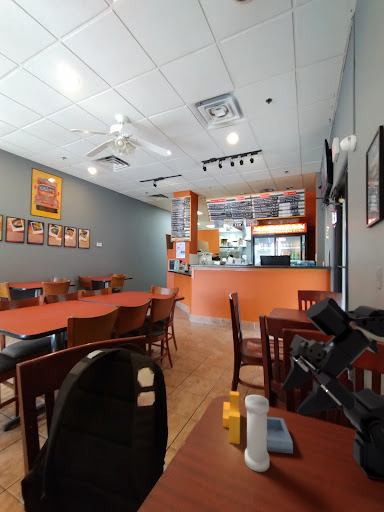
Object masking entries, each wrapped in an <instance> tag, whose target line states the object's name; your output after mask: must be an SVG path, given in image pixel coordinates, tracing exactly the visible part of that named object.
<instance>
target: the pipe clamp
mask: <svg viewBox="0 0 384 512" xmlns="http://www.w3.org/2000/svg"><path fill="white" fill-rule="evenodd" d="M222 409H223V411H222V428H228V443H230V444H234V445H235V444H237V445H240V443H241V439H240V438H241V412H240V392H239V391H234V390H229V401H223V407H222Z"/></svg>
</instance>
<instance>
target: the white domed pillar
mask: <svg viewBox="0 0 384 512" xmlns="http://www.w3.org/2000/svg"><path fill="white" fill-rule="evenodd" d="M244 403H245V405H244V406H245V409H246V448H245V450H244V463H245V464H246V466H247V467H248V468H249V469H251V470H252V471H254V472H258V473H262V472H263V473H264V472H266V471H267V470H268V469H269V468H270V455H269V453H268V451H267V417H268V412H269V411H270V408H269V405H270V403H269V400H268V399H267V398H266V397H265V396H263V395H259V394H250V395H249V394H248V395H247V396H246V397H245V401H244Z"/></svg>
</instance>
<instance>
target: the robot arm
mask: <svg viewBox="0 0 384 512" xmlns="http://www.w3.org/2000/svg"><path fill="white" fill-rule="evenodd" d="M305 317H306V318H307V319H308V320H309V321H310V322H311V323H312V324H313V325H314V326H315V327H316V328H317V329H318V330H319V331H320V332H321V333H322V334H324V336H326V337H329V336H332V337H331V338H330V340H328V341H327V342H325V341H323V340H322V341H318V342H317V341H316V340H315V339H311V340H309V339H306V338H304V337H303V336H300V335H298V334H295V335H294V337H293V340H292V341H291V344H290V345H289V347H290V348H291V349H292V350H291V351H289V354H290V355H291V356H289V359H290V363H291V364H290V365H291V367H290V369H289V372H288V373H287V376H286V377H285V380H284V382H283V384H282V386H281V390H283V391H284V392H288V391H290V390H292V389H295V388H296V387H298V386H299V385H302V384H303V383H306V382H307V381H309V380H311V379H312V378H313V377H312V375H314V376H315V377H316V378H317V381H316V379H313V382H312V390H311V392H310V393H309V394H308V396H307V397H305V398H304V400H303V401H302V402H301V404H300V405H299V407H298V408H297V409H296V411H297V413H298V414H299V415H300V416H305V415H309V414H313V413H318V412H323V411H330V410H336V409H337V410H338V409H339V410H340V411H342V410H343V413H344V415H345V417H347V419H348V420H349V421H350V422H351V425H352V426H353V427H354V428H355V429H356V431H354V432H355V435H354V436H355V438H354V439H353V441H352V442H353V443H352V445H353V447H352V450H353V451H352V452H351V456H352V457H353V459H354V460H355V462H356V463H357V464H358V466H359V467H360V468H361V470H362V471H363V473H364V474H365V476H366V477H367V478H368V479H373V480H374V479H375V480H380V481H384V394H377V393H376V392H374V391H373V390H372V389H370V388H368V387H366V388H363V389H361V390H360V391H356V392H355V391H354V392H353V391H350V390H349V388H347V386H346V385H344V384H343V382H341V380H340V379H338V378H339V376H341V374H342V373H344V371H346V370H347V371H349V372H352V371H354V369H355V367H353V366H352V365H351V364H353V363H354V362H355V361H356V360H357V358H359V357H360V356H361V355H362V354H363V353H364V352H365V351H366V350H368V351H370V352H372V353H374V354H376V355H377V354H379V353H380V351H379V347H378V340H376V339H374V338H372V337H368V336H367V335H366V334H365V333H364V332H366V333H368V334H369V335H374V336H376V337H379V338H384V309H382V308H378V307H373V306H369V305H359V306H357V307H356V308H355V309H354V310H344V309H343V308H342V307H341V306H340V305H339V304H338V302H337V301H336V300H335V299H334V298H333V297H329V296H326V297H325V298H324V299H321V300H320V301H317V302H315V303H314V304H311V305H310V307H308V309H307V310H306V312H305ZM350 324H351V325H350ZM352 325H353V326H354V327H355V328H353V326H352ZM320 384H321V385H320ZM342 406H343V407H342Z"/></svg>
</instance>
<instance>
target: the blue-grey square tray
mask: <svg viewBox="0 0 384 512" xmlns="http://www.w3.org/2000/svg"><path fill="white" fill-rule="evenodd" d="M293 444H294V441H293V439H292V437H291V435H290V432H289V429H288V428H287V424H286V422H285V419H284V418H283V417H275V416H274V417H273V416H267V452H271V453H272V452H274V453H282V454H283V453H284V454H291V455H292V454H294V445H293Z"/></svg>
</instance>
